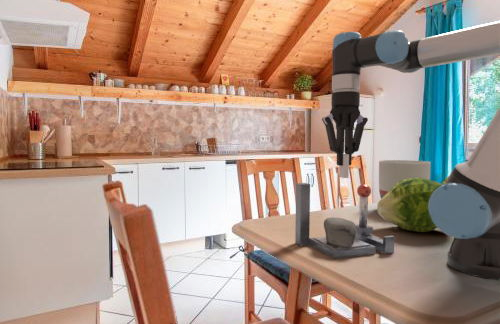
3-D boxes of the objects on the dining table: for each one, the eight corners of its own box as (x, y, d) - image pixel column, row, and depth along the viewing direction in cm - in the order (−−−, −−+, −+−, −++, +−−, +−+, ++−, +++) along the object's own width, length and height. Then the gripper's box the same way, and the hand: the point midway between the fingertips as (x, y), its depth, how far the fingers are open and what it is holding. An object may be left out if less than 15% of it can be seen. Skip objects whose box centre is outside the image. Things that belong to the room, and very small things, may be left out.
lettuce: (374, 223, 134) (370, 177, 131) (441, 217, 130) (438, 169, 126) (386, 246, 115) (381, 192, 112) (464, 240, 111) (462, 184, 108)
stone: (320, 245, 96) (322, 209, 100) (322, 251, 104) (325, 218, 108) (355, 249, 93) (356, 212, 97) (355, 255, 101) (356, 220, 105)
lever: (372, 233, 107) (374, 185, 106) (361, 234, 106) (362, 185, 105) (364, 230, 111) (365, 183, 110) (353, 231, 109) (354, 183, 108)
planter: (416, 218, 141) (418, 163, 140) (369, 210, 156) (370, 161, 154) (436, 211, 155) (438, 161, 153) (391, 204, 170) (392, 159, 168)
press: (394, 252, 98) (396, 187, 97) (326, 261, 91) (327, 191, 89) (355, 236, 114) (356, 180, 113) (295, 243, 107) (296, 183, 105)
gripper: (360, 94, 103) (357, 175, 105) (317, 92, 100) (316, 176, 102) (374, 91, 96) (372, 178, 98) (329, 89, 93) (327, 179, 95)
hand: (343, 177), depth 100 cm, fingers closed
